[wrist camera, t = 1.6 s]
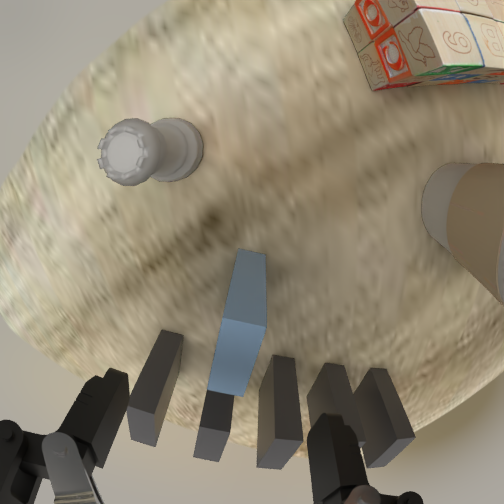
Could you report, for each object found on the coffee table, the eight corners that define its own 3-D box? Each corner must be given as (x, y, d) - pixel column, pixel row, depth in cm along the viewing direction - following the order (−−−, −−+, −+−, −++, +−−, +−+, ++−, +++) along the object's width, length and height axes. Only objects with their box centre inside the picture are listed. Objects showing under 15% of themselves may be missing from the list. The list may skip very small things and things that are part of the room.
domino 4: (344, 365, 24) (366, 441, 16) (324, 398, 26) (337, 470, 18) (324, 362, 24) (343, 442, 16) (306, 396, 26) (316, 470, 18)
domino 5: (386, 369, 25) (415, 437, 16) (364, 400, 26) (384, 466, 18) (370, 367, 25) (397, 439, 16) (349, 400, 26) (366, 468, 18)
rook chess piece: (179, 193, 19) (131, 221, 12) (133, 158, 19) (67, 168, 11) (217, 142, 18) (187, 137, 11) (168, 106, 17) (113, 86, 10)
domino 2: (239, 348, 24) (230, 432, 16) (229, 384, 26) (218, 462, 17) (217, 343, 24) (199, 426, 15) (209, 380, 26) (193, 457, 17)
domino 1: (183, 335, 24) (154, 414, 15) (179, 373, 25) (155, 447, 17) (161, 329, 24) (125, 405, 15) (159, 367, 25) (131, 439, 17)
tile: (265, 254, 21) (266, 327, 12) (249, 311, 23) (243, 396, 14) (238, 248, 21) (222, 317, 12) (225, 306, 22) (206, 389, 14)
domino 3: (294, 358, 24) (303, 440, 16) (278, 393, 26) (281, 469, 18) (272, 354, 24) (274, 438, 16) (259, 390, 26) (256, 467, 17)
